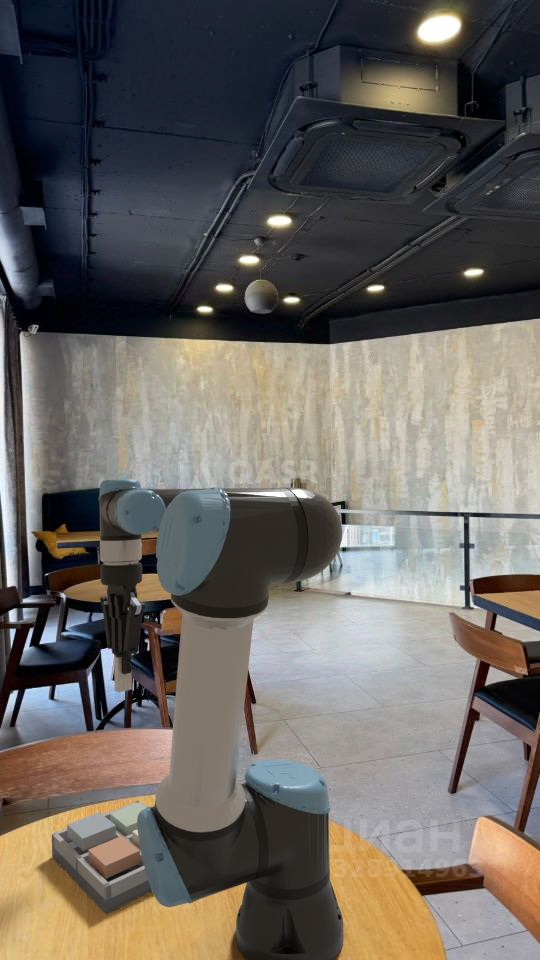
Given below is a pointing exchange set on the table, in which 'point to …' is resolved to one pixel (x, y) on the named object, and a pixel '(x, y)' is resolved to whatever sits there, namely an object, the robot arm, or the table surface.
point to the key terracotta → (113, 856)
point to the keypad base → (98, 888)
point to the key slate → (91, 831)
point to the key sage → (127, 818)
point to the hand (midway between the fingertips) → (123, 689)
